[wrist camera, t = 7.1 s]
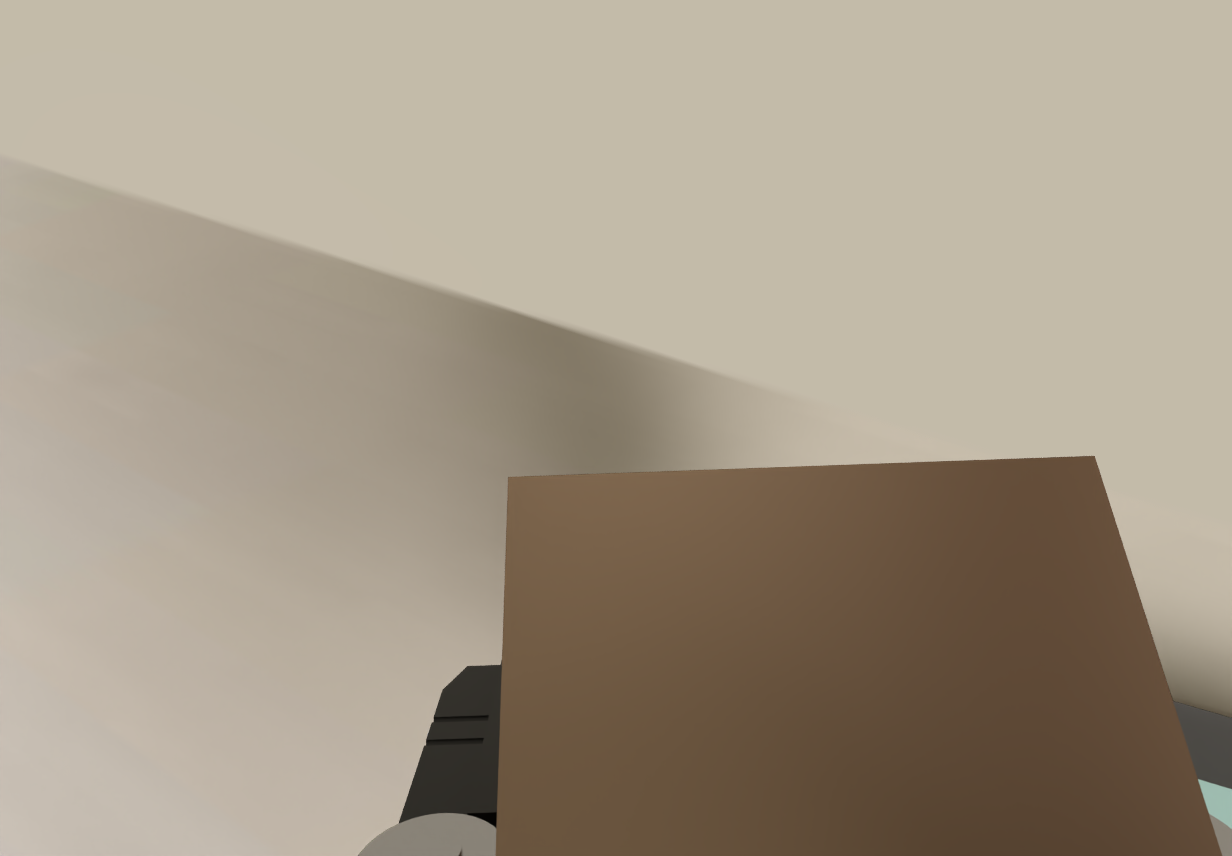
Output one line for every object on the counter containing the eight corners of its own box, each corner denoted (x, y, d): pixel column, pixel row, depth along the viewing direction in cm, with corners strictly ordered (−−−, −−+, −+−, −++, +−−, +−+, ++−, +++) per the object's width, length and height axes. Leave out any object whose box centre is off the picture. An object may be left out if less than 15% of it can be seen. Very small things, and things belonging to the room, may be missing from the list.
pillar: (589, 1044, 13) (482, 1239, 4) (586, 751, 15) (507, 476, 6) (872, 1036, 13) (1336, 1212, 4) (832, 742, 15) (1094, 455, 6)
